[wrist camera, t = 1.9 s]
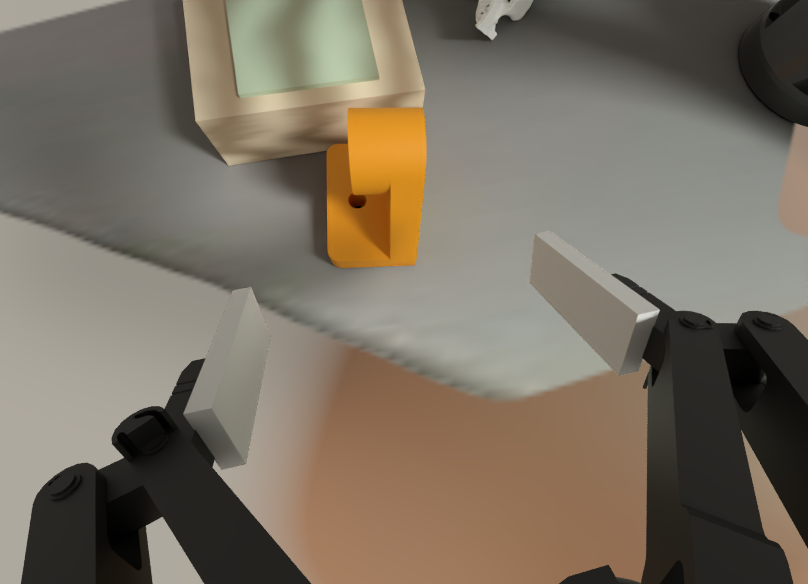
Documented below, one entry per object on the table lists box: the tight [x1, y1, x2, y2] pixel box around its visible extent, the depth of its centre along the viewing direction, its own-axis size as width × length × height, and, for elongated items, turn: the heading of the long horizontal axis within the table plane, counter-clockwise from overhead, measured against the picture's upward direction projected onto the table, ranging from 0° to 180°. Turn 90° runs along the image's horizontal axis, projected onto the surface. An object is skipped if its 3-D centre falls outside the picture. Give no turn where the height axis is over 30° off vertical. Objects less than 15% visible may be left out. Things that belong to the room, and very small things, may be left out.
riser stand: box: [183, 0, 425, 166], centre depth 32 cm, size 18×16×6 cm
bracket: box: [327, 107, 426, 268], centre depth 27 cm, size 11×7×12 cm, turn 3°
